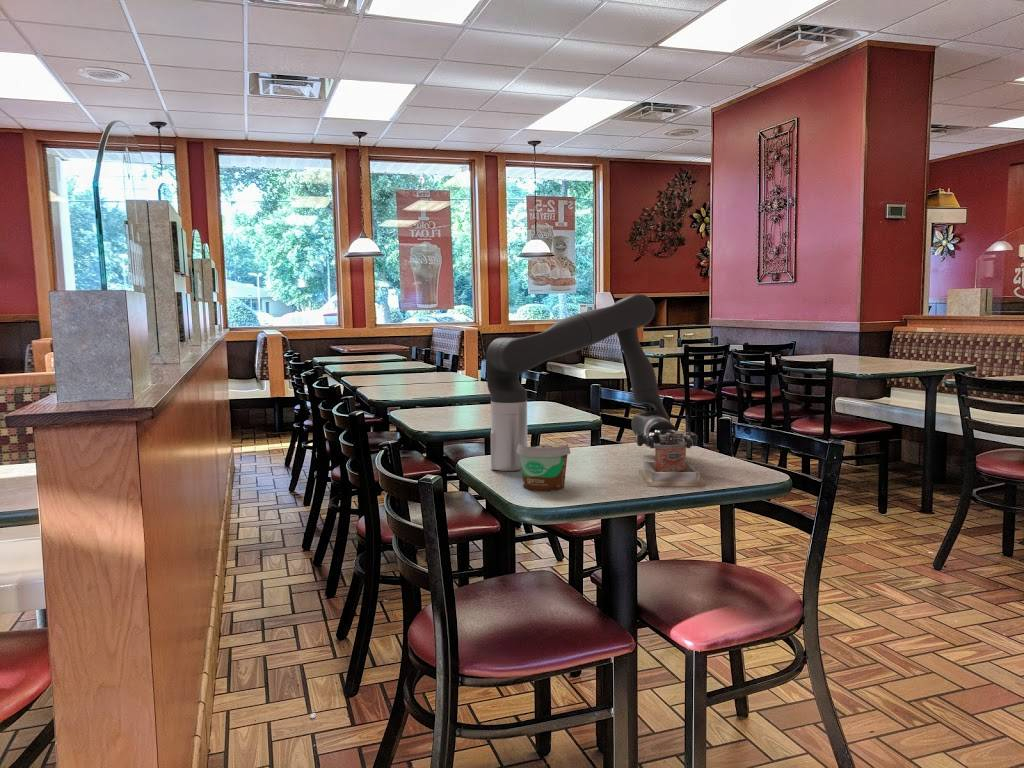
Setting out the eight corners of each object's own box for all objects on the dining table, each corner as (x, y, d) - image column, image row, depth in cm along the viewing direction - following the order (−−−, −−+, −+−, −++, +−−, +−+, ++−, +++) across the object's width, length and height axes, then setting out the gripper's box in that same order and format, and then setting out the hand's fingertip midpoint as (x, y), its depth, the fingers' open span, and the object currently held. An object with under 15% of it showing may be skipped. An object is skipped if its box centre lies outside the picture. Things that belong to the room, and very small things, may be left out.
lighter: (658, 477, 175) (658, 435, 174) (651, 474, 178) (651, 433, 177) (689, 475, 177) (689, 433, 176) (682, 472, 180) (682, 431, 180)
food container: (511, 491, 167) (510, 446, 167) (517, 485, 173) (517, 442, 173) (566, 494, 165) (565, 448, 164) (570, 487, 170) (570, 443, 170)
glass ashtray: (647, 486, 171) (647, 473, 171) (638, 473, 185) (638, 461, 185) (704, 486, 171) (705, 473, 170) (692, 473, 185) (692, 460, 184)
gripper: (632, 418, 193) (640, 428, 177) (688, 418, 192) (701, 428, 176) (632, 447, 194) (640, 459, 177) (688, 447, 193) (701, 459, 177)
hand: (670, 444), depth 177 cm, fingers open, 8 cm apart
